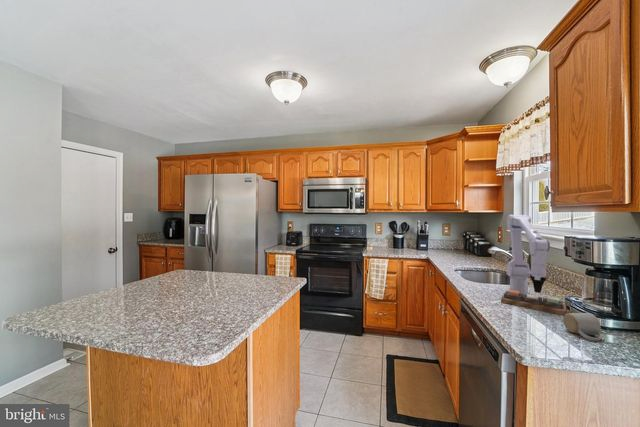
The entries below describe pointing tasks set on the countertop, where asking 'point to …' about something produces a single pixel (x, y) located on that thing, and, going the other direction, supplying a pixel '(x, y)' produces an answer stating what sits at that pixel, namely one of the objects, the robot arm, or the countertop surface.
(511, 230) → the robot arm
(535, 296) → the cream button
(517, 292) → the terracotta button
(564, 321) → the ceramic mug
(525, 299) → the button panel
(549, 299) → the sage button
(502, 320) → the countertop surface
